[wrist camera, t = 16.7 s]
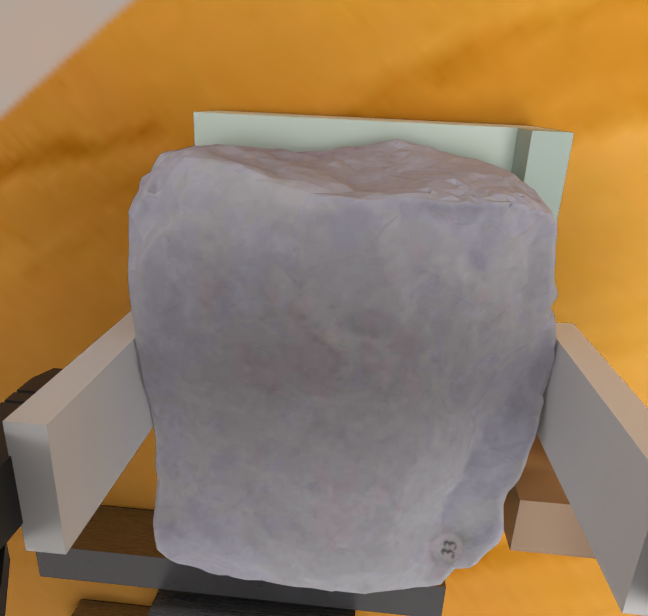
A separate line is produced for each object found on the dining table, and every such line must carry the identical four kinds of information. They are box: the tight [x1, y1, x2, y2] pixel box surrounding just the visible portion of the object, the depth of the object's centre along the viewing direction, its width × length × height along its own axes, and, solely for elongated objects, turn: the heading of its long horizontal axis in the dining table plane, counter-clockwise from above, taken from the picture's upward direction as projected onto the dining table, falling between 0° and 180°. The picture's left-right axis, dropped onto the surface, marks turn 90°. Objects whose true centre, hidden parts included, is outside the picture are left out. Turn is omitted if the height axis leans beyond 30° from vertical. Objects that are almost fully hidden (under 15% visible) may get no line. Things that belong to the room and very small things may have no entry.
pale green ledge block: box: [194, 110, 574, 222], centre depth 18 cm, size 10×12×4 cm
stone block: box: [128, 139, 558, 594], centre depth 15 cm, size 12×5×10 cm
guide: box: [36, 505, 446, 616], centre depth 24 cm, size 16×7×2 cm, turn 88°
